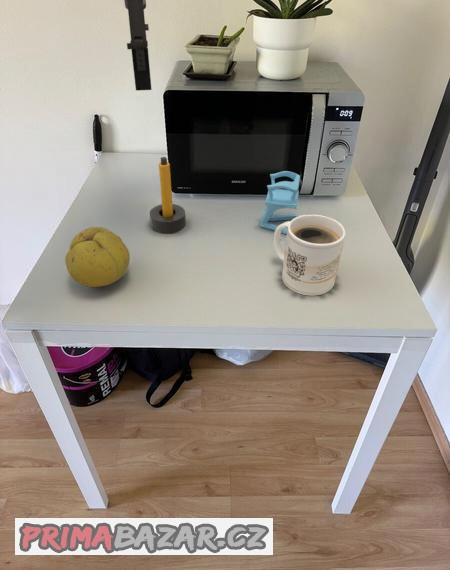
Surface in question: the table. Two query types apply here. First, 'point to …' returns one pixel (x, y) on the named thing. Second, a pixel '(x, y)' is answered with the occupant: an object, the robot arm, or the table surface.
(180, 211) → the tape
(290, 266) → the mug
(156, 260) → the table surface
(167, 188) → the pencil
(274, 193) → the chair
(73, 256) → the fruit
